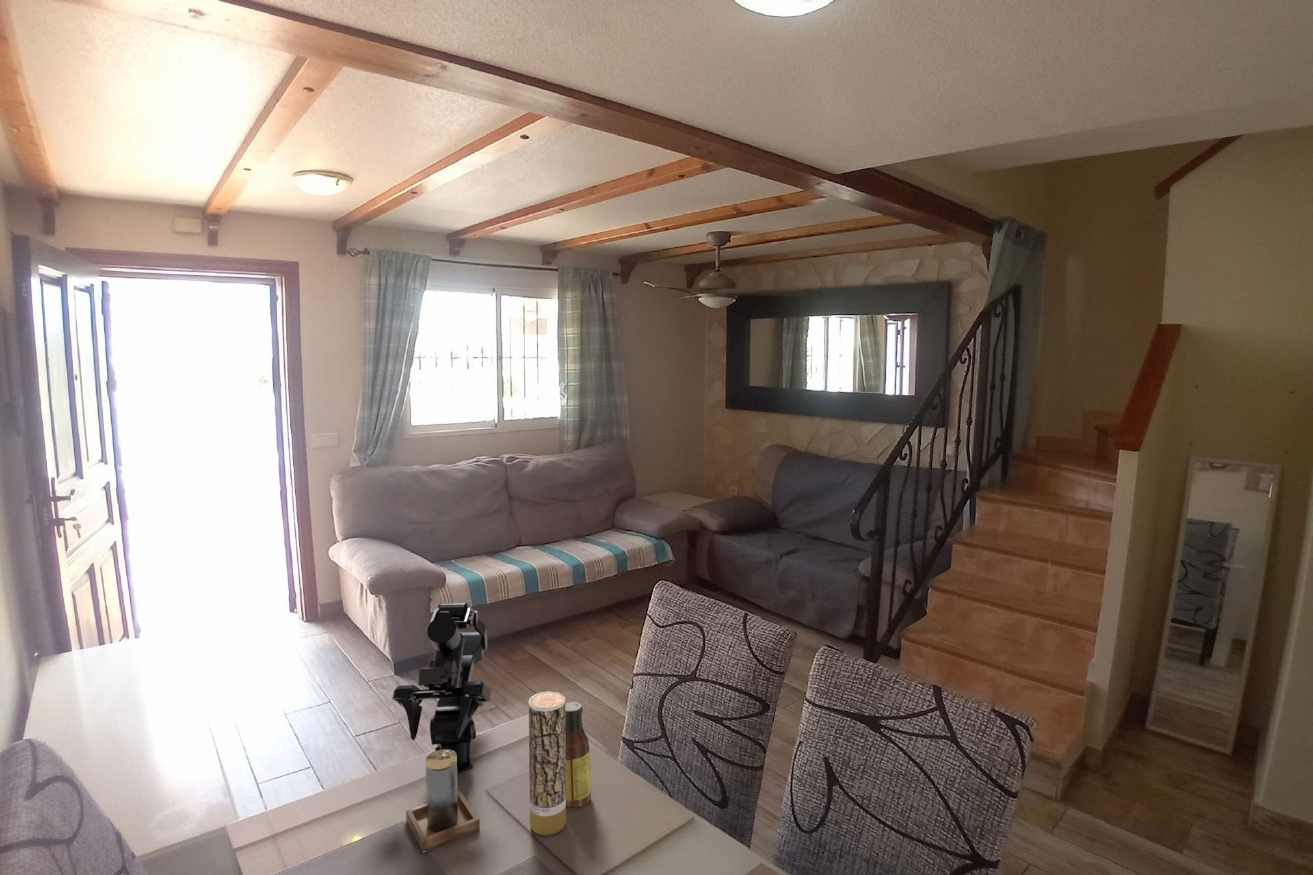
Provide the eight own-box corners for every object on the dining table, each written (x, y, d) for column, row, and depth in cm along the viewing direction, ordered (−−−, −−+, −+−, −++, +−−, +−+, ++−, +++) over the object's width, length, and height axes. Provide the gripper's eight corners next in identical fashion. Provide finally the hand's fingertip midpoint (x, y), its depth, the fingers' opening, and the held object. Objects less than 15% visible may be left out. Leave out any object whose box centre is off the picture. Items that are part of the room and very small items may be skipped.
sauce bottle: (593, 791, 139) (593, 699, 137) (587, 810, 133) (587, 714, 131) (562, 789, 140) (562, 697, 138) (555, 808, 134) (554, 712, 132)
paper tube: (558, 839, 124) (558, 710, 122) (524, 834, 126) (523, 706, 124) (570, 816, 131) (570, 693, 129) (537, 811, 132) (536, 689, 130)
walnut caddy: (460, 801, 136) (460, 791, 135) (479, 830, 127) (479, 819, 127) (406, 821, 129) (406, 810, 129) (422, 852, 121) (422, 841, 121)
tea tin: (439, 810, 132) (438, 747, 131) (464, 816, 130) (462, 752, 129) (421, 828, 127) (419, 762, 125) (445, 834, 125) (444, 768, 124)
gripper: (389, 649, 136) (371, 731, 127) (478, 644, 135) (467, 726, 126) (410, 666, 145) (396, 744, 136) (495, 661, 144) (486, 739, 135)
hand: (435, 738), depth 133 cm, fingers open, 9 cm apart
